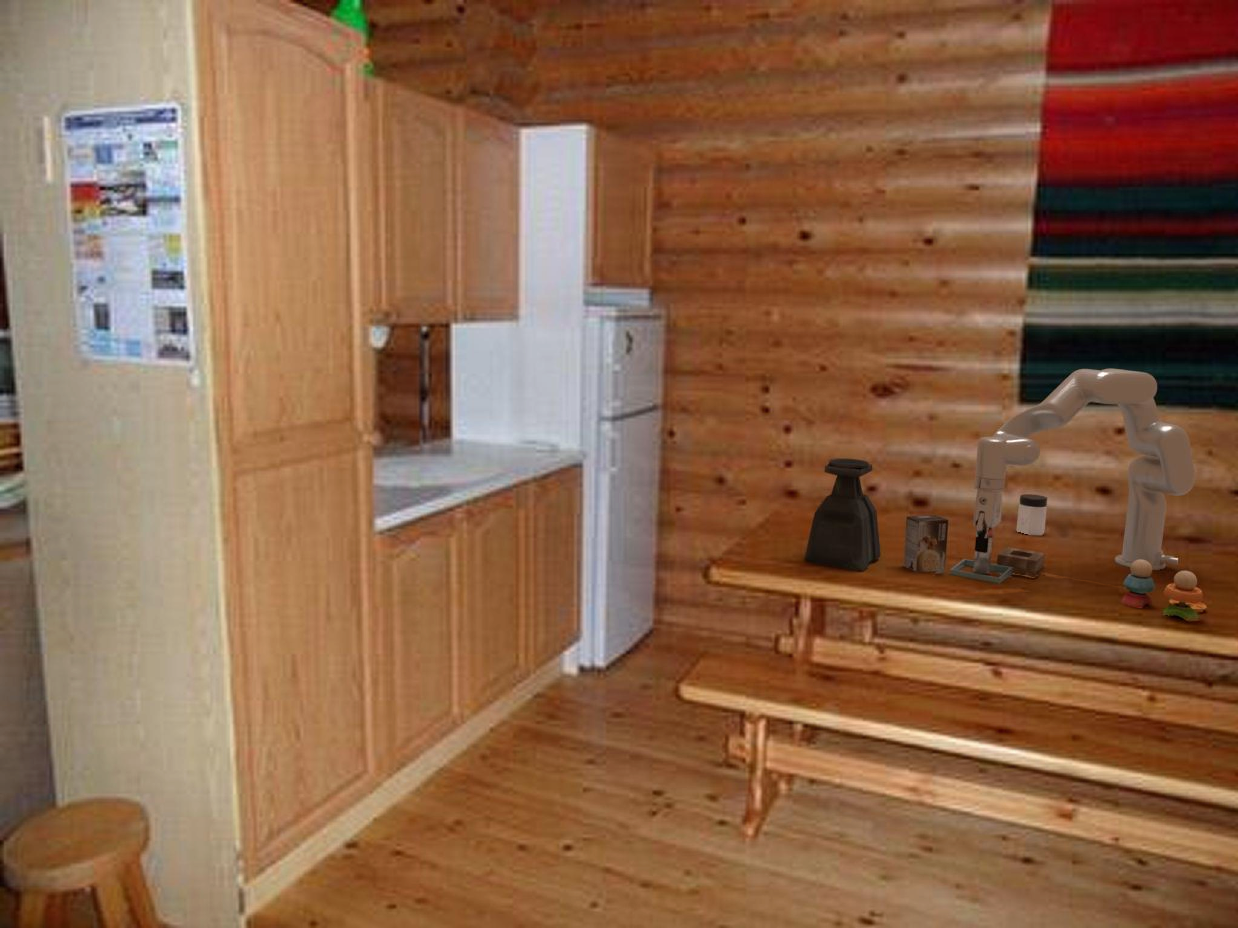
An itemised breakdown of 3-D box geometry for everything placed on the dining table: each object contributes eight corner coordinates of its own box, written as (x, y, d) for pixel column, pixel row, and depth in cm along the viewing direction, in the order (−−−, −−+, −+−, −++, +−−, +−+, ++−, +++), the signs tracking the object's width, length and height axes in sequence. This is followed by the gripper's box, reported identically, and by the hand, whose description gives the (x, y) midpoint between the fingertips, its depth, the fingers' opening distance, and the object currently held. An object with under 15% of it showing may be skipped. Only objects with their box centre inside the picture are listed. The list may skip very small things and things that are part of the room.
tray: (1011, 576, 257) (1012, 567, 257) (999, 587, 247) (1000, 578, 246) (963, 567, 265) (963, 558, 264) (949, 578, 254) (949, 569, 254)
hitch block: (1042, 570, 263) (1044, 553, 262) (1034, 578, 255) (1036, 560, 254) (1005, 563, 269) (1006, 546, 268) (996, 571, 261) (997, 554, 260)
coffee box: (931, 570, 261) (935, 514, 258) (945, 577, 255) (949, 519, 252) (901, 572, 258) (906, 515, 256) (915, 579, 252) (919, 521, 250)
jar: (1010, 530, 308) (1013, 495, 306) (1027, 528, 312) (1030, 493, 310) (1033, 537, 300) (1037, 500, 298) (1050, 534, 304) (1054, 498, 302)
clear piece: (991, 571, 256) (995, 528, 254) (986, 574, 253) (990, 531, 250) (976, 568, 258) (980, 526, 256) (971, 571, 255) (975, 528, 253)
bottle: (824, 556, 273) (830, 454, 268) (880, 565, 265) (888, 460, 260) (802, 571, 258) (808, 463, 253) (861, 581, 250) (869, 470, 245)
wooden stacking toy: (1215, 614, 230) (1222, 564, 227) (1193, 630, 218) (1200, 578, 216) (1136, 595, 243) (1142, 548, 240) (1110, 610, 231) (1116, 560, 229)
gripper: (995, 490, 242) (989, 559, 245) (1012, 480, 256) (1005, 546, 259) (965, 486, 246) (960, 554, 250) (983, 477, 260) (977, 541, 263)
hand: (983, 549), depth 254 cm, fingers closed on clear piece, 4 cm apart
